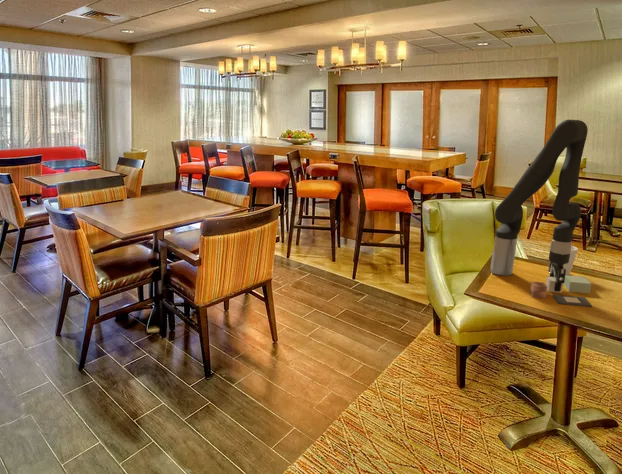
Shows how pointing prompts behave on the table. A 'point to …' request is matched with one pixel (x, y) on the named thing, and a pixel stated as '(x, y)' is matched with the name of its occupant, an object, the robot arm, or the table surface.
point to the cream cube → (552, 285)
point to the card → (572, 300)
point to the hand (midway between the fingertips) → (554, 287)
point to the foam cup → (570, 260)
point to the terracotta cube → (538, 290)
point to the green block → (577, 284)
